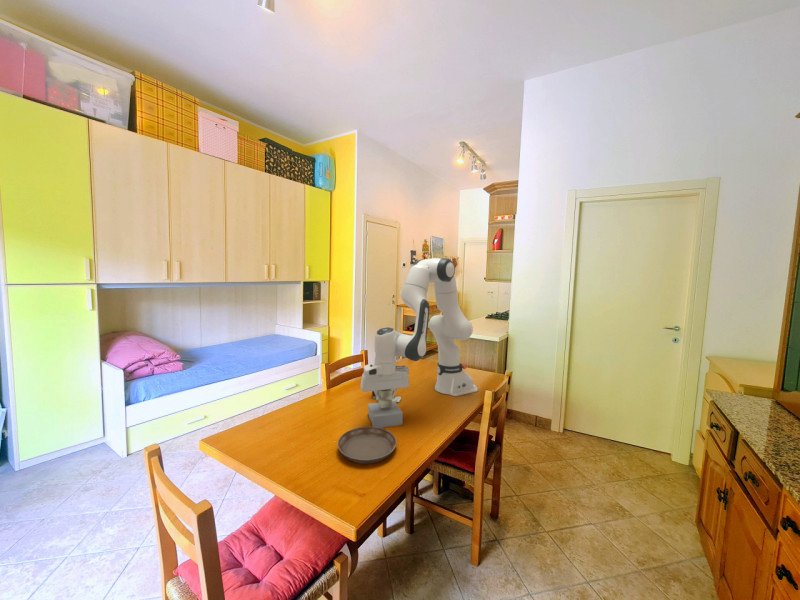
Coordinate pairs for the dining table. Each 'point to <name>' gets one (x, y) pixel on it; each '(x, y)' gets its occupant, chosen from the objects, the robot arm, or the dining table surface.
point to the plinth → (385, 415)
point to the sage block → (385, 398)
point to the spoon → (397, 399)
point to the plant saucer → (367, 444)
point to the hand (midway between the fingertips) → (385, 399)
